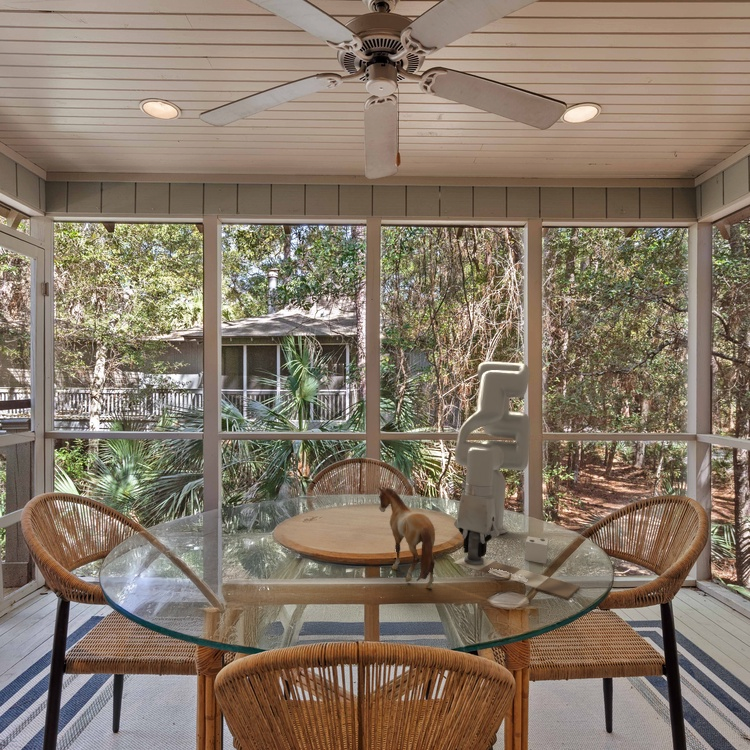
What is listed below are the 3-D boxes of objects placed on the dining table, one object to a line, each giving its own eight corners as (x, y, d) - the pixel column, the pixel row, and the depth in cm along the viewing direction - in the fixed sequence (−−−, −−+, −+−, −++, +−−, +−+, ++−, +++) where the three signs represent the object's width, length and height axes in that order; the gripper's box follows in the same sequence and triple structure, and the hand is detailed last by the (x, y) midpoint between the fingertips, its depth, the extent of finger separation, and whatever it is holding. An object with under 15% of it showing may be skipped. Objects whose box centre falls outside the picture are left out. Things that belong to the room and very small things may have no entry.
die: (524, 561, 154) (525, 541, 154) (526, 555, 160) (527, 535, 160) (545, 565, 152) (547, 544, 152) (547, 559, 157) (548, 539, 157)
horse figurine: (372, 556, 151) (377, 485, 151) (397, 554, 153) (402, 484, 153) (418, 602, 122) (423, 514, 121) (447, 599, 124) (453, 513, 124)
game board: (452, 564, 148) (453, 562, 148) (469, 556, 156) (469, 554, 156) (567, 600, 128) (567, 597, 128) (579, 588, 136) (579, 585, 136)
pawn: (461, 561, 149) (463, 528, 149) (469, 557, 153) (471, 525, 153) (478, 566, 146) (480, 533, 146) (486, 562, 150) (488, 529, 150)
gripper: (446, 486, 151) (442, 549, 151) (500, 497, 141) (496, 565, 141) (458, 483, 157) (454, 543, 157) (511, 493, 147) (507, 558, 147)
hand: (474, 553), depth 149 cm, fingers closed on pawn, 3 cm apart
